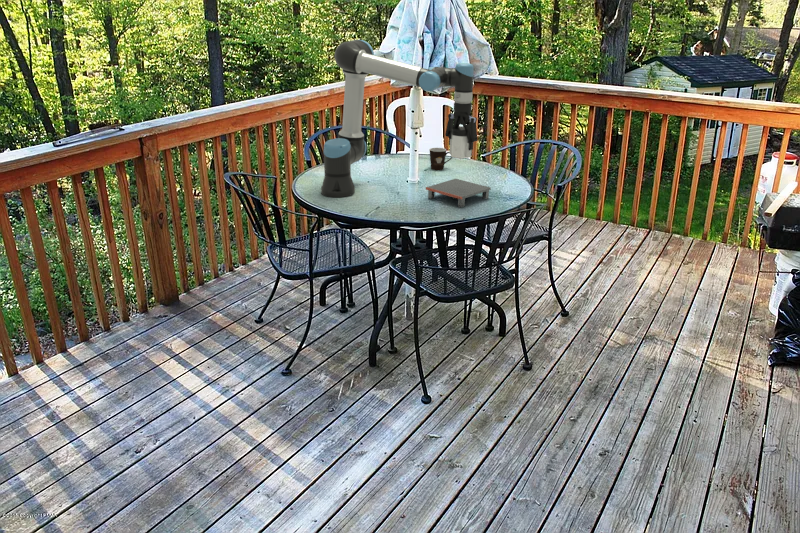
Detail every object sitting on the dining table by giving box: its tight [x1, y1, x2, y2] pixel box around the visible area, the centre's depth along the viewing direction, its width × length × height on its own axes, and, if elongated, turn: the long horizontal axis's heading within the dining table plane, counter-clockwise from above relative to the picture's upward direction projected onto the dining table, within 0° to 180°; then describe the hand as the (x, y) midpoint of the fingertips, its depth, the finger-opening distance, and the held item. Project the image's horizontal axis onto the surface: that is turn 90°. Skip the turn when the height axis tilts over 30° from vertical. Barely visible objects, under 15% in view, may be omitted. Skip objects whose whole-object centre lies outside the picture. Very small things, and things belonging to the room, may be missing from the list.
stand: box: [425, 178, 492, 208], centre depth 291 cm, size 20×21×5 cm
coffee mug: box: [429, 147, 453, 171], centre depth 336 cm, size 12×9×10 cm
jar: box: [450, 125, 468, 159], centre depth 282 cm, size 9×8×12 cm
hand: (460, 155), depth 285 cm, fingers closed on jar, 8 cm apart
